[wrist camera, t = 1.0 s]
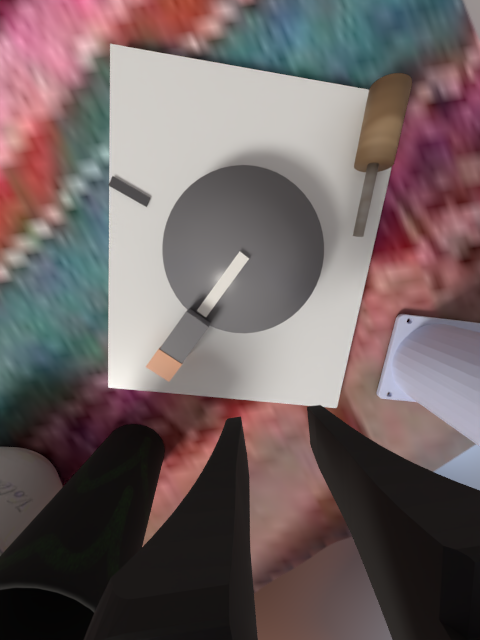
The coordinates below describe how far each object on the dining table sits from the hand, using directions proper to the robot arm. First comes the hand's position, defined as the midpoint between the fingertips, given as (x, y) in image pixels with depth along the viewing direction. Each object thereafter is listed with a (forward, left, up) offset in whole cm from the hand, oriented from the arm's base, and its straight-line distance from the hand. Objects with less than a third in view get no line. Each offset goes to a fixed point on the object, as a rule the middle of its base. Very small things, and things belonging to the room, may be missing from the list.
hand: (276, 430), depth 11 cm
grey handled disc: (+3, -6, -9) cm, 11 cm away
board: (+2, -8, -10) cm, 13 cm away
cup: (+10, +11, -11) cm, 18 cm away
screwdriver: (-6, -15, -9) cm, 19 cm away
